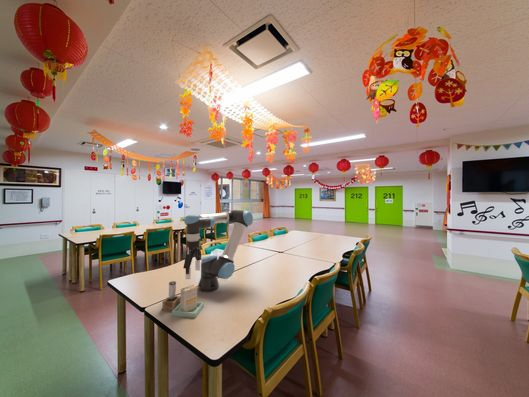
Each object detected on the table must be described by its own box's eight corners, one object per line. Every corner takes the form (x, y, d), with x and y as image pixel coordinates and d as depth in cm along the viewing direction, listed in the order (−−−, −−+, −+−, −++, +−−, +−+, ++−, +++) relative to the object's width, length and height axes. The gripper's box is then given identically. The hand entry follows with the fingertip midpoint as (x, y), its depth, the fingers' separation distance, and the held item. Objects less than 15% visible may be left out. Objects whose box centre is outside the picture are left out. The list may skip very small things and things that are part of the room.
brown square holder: (169, 303, 128) (169, 295, 128) (180, 304, 128) (181, 296, 128) (162, 309, 121) (162, 301, 121) (174, 310, 120) (174, 302, 120)
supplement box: (192, 305, 125) (193, 284, 125) (197, 308, 122) (197, 286, 122) (179, 311, 119) (180, 288, 119) (184, 314, 116) (184, 291, 116)
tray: (181, 305, 127) (182, 301, 127) (203, 306, 125) (203, 302, 125) (171, 316, 115) (171, 311, 115) (195, 318, 113) (195, 313, 113)
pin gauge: (170, 305, 126) (171, 281, 126) (176, 305, 126) (177, 281, 126) (166, 308, 122) (167, 283, 122) (172, 309, 122) (173, 284, 122)
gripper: (195, 235, 137) (195, 266, 137) (176, 245, 112) (176, 283, 112) (206, 236, 136) (206, 267, 137) (189, 245, 111) (189, 283, 112)
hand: (193, 274), depth 124 cm, fingers open, 13 cm apart
